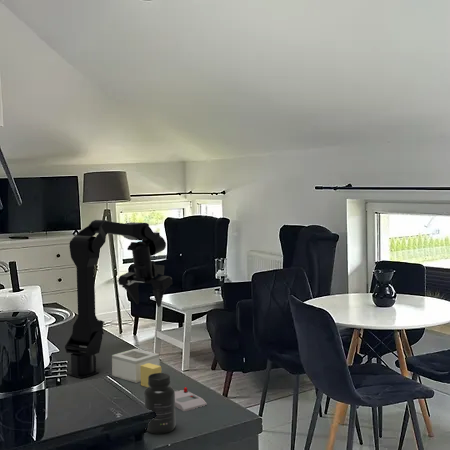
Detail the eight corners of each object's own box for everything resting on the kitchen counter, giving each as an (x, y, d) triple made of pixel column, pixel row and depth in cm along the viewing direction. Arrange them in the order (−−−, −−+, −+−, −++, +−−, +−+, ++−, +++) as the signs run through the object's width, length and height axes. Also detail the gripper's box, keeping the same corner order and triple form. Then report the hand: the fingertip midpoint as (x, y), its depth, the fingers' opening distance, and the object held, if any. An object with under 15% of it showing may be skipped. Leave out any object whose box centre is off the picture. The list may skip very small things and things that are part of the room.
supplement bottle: (141, 425, 140) (140, 373, 140) (170, 420, 143) (169, 369, 142) (149, 436, 134) (147, 382, 133) (179, 431, 136) (178, 378, 136)
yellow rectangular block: (153, 389, 165) (153, 368, 164) (140, 385, 168) (140, 365, 168) (161, 386, 167) (161, 366, 167) (149, 382, 170) (148, 363, 170)
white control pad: (188, 415, 147) (187, 403, 147) (155, 397, 160) (155, 386, 160) (211, 409, 151) (211, 397, 151) (177, 392, 164) (177, 380, 163)
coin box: (136, 382, 170) (135, 361, 170) (112, 375, 176) (111, 355, 176) (159, 374, 177) (159, 354, 176) (136, 368, 183) (135, 348, 183)
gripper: (179, 254, 203) (185, 299, 207) (136, 251, 213) (142, 294, 217) (158, 265, 194) (165, 311, 198) (114, 260, 204) (121, 305, 208)
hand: (148, 305), depth 205 cm, fingers open, 9 cm apart
